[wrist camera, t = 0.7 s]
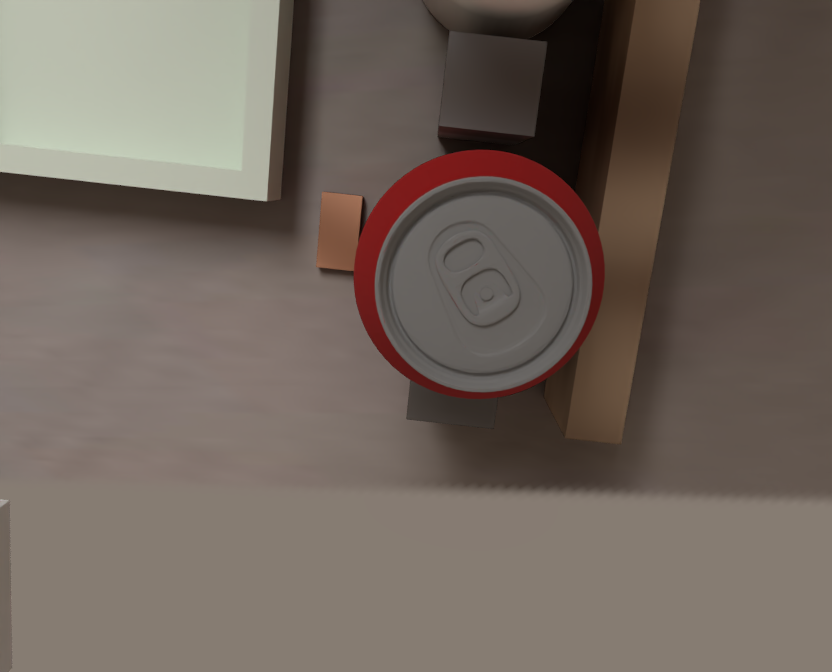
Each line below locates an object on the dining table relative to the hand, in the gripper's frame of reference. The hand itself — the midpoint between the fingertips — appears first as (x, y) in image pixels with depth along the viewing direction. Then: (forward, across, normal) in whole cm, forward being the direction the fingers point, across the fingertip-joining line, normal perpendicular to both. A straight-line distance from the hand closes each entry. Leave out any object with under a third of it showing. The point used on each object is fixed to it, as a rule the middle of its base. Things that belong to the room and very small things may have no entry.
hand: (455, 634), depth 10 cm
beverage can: (+20, 0, +4) cm, 21 cm away
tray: (+20, -14, +11) cm, 27 cm away
